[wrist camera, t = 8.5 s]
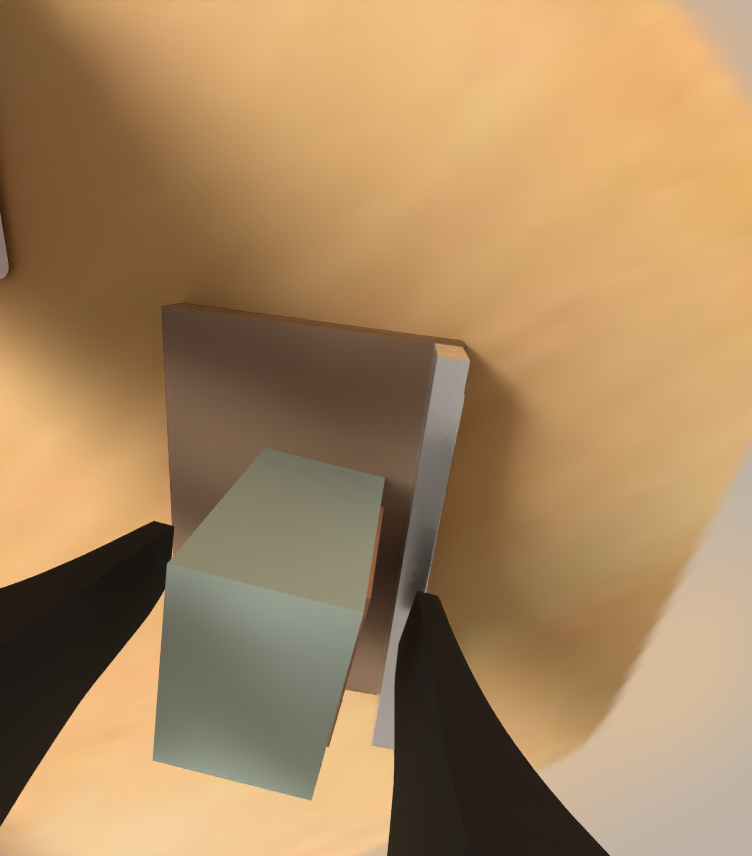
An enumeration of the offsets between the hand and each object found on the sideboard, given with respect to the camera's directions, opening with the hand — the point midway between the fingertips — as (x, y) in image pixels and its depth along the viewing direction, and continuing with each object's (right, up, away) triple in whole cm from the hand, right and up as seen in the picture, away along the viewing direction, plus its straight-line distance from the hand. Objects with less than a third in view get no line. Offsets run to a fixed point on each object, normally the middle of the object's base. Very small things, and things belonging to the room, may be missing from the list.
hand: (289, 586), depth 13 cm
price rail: (+4, 0, +2) cm, 4 cm away
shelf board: (0, +1, +4) cm, 4 cm away
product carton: (0, +1, +3) cm, 3 cm away
